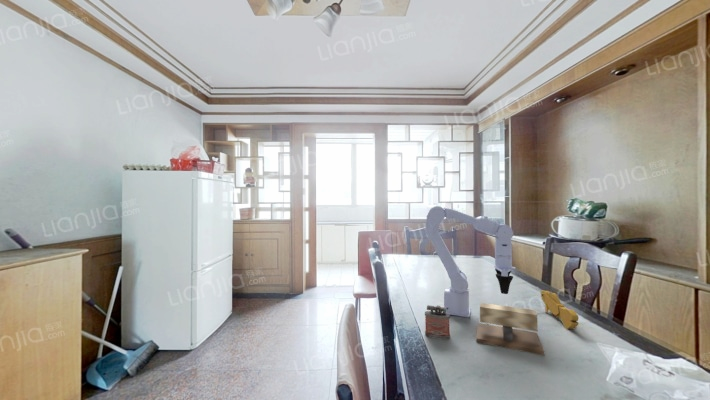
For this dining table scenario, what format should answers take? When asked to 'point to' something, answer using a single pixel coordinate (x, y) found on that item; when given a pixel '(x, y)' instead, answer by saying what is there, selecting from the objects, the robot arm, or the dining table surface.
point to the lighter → (437, 322)
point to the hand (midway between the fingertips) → (503, 290)
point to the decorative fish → (559, 310)
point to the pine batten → (508, 316)
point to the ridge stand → (509, 338)
